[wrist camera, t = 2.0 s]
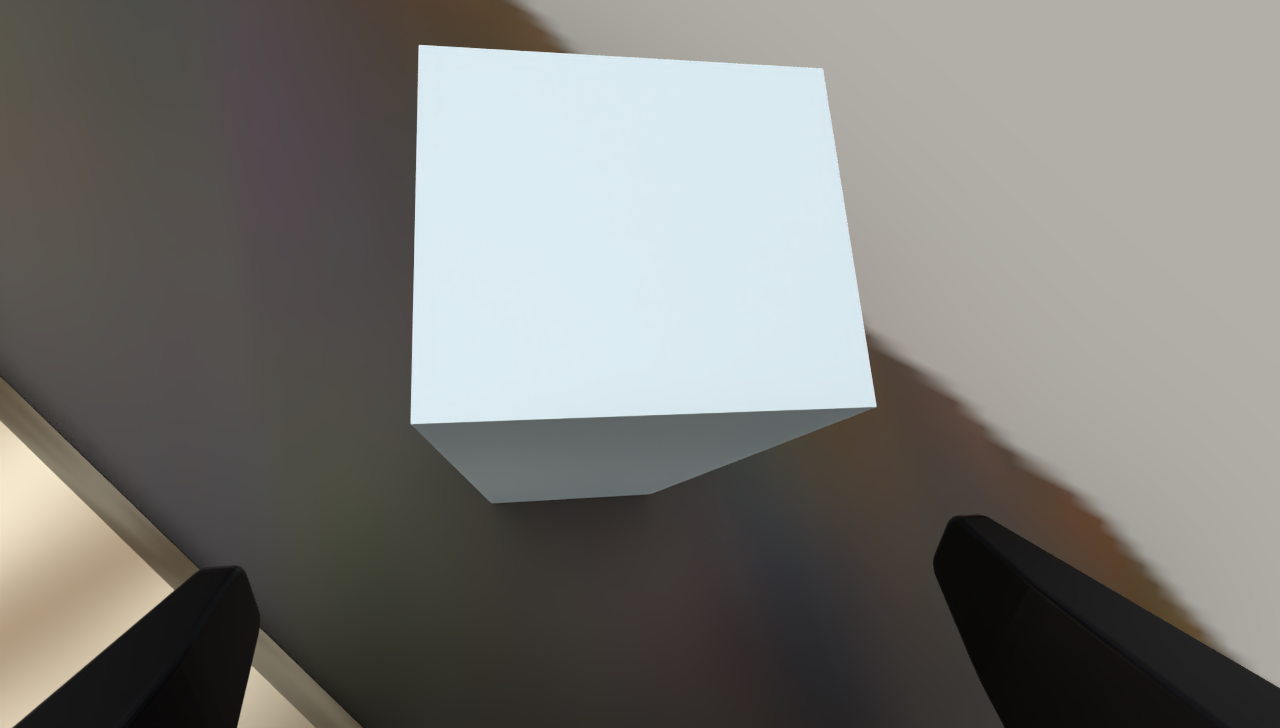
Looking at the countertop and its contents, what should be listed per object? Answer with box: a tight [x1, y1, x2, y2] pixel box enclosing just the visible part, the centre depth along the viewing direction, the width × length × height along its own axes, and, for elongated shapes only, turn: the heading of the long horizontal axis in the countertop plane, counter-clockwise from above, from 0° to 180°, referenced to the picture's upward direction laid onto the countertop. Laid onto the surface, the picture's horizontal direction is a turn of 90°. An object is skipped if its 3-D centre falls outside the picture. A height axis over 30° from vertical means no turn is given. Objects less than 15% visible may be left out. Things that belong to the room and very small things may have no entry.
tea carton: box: [411, 45, 876, 503], centre depth 13 cm, size 4×4×13 cm
